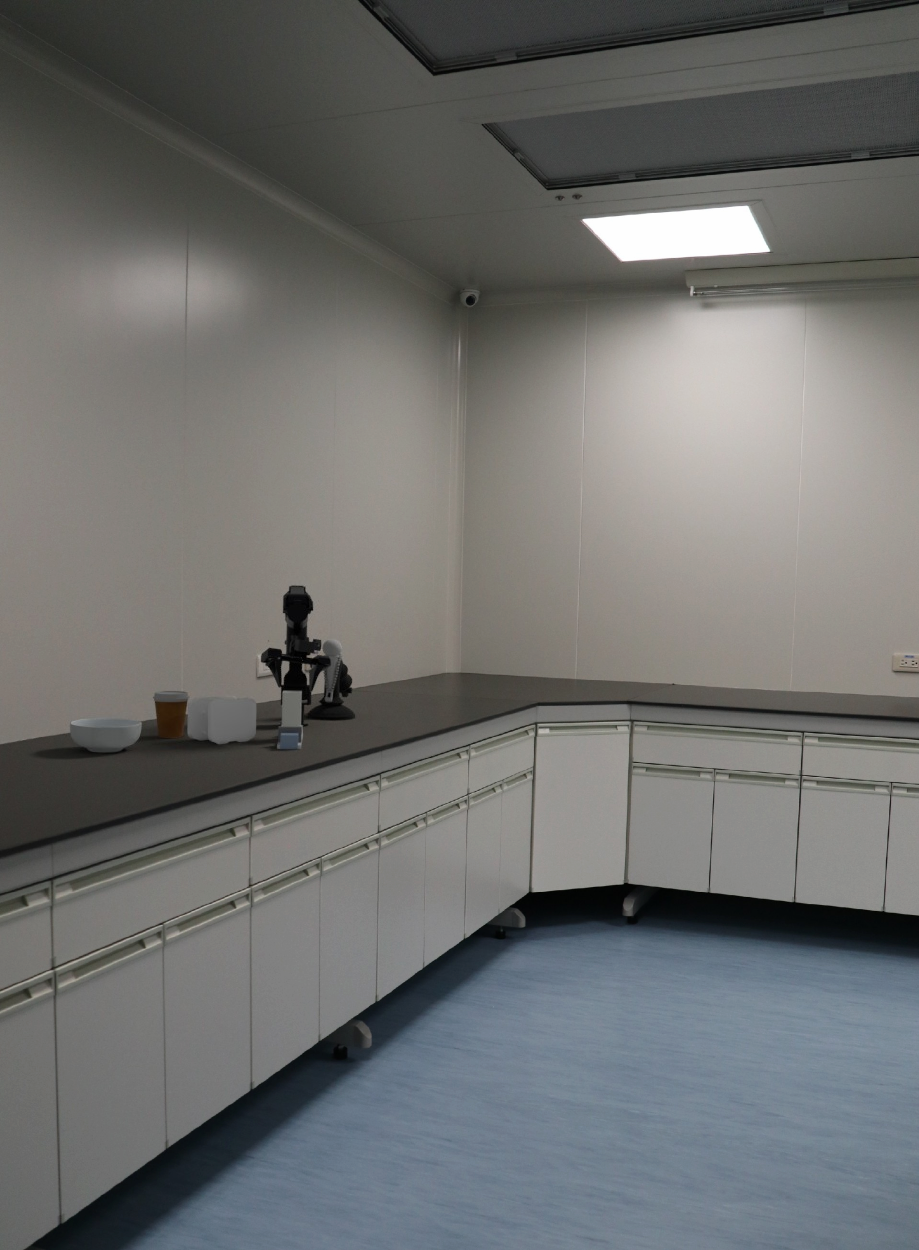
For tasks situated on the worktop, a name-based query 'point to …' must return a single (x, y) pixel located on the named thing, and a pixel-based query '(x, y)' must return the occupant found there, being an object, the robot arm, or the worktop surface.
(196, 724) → the cable organizer
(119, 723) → the cereal bowl
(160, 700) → the disposable coffee cup
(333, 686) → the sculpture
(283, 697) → the grey rectangular box
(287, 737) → the cord rail
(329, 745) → the worktop surface
